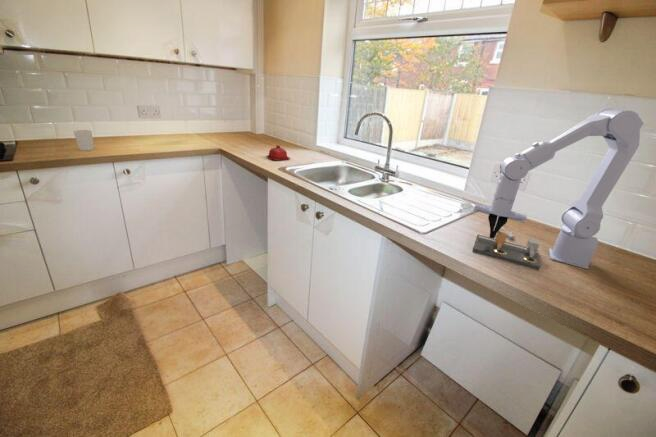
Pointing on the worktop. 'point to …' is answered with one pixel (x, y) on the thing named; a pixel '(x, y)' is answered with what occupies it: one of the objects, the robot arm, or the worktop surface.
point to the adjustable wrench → (509, 234)
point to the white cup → (84, 139)
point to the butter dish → (278, 153)
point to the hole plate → (510, 251)
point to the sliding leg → (500, 238)
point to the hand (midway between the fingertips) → (491, 236)
